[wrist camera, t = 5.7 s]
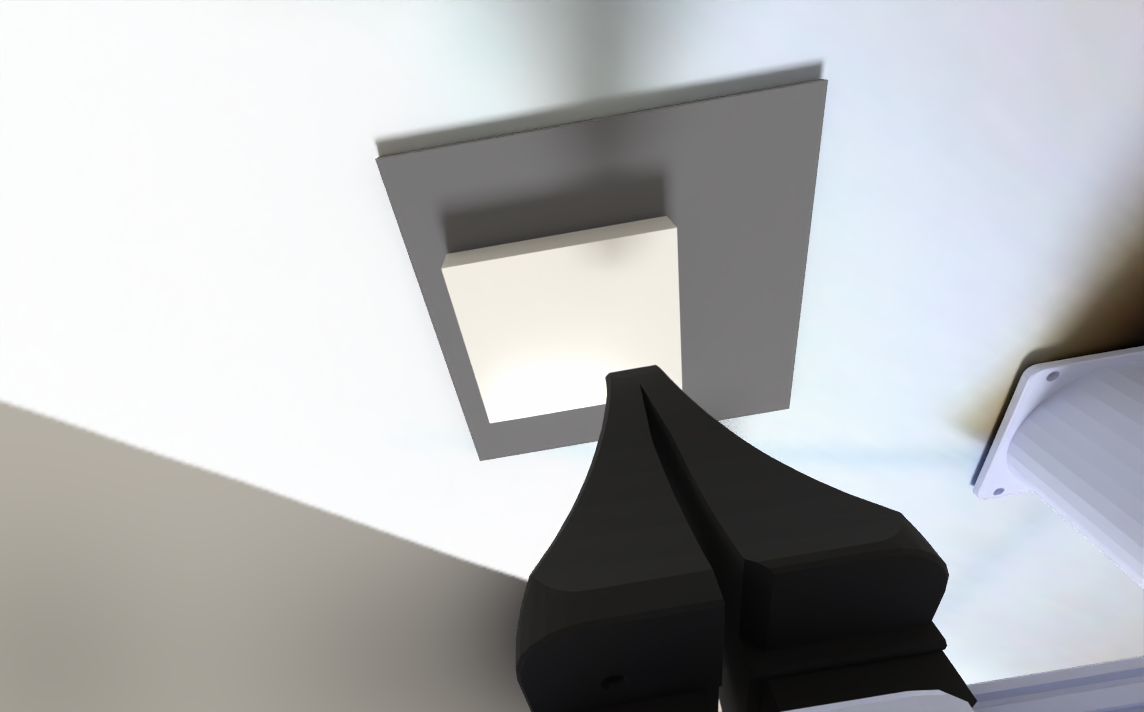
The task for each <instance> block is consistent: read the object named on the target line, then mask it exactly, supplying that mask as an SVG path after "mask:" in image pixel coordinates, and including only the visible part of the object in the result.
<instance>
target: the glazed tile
mask: <svg viewBox="0 0 1144 712" xmlns="http://www.w3.org/2000/svg"><path fill="white" fill-rule="evenodd" d="M441 270H442V273H443V276H444V279H445V282H446V285H447V289H448V292H449V295H450V298H451V301H452V305H453V308H454V311H455V314H456V317H457V320H458V324H459V327H460V330H461V333H462V336H463V339H464V343H465V346H466V349H467V352H468V355H469V359H470V362H471V365H472V368H473V371H474V374H475V378H476V381H477V384H478V387H479V390H480V394H481V397H482V400H483V403H484V406H485V409H486V413H487V416H488V419H489V422H490V423H495V422H501V421H506V420H512V419H518V418H524V417H530V416H536V415H542V414H548V413H553V412H559V411H565V410H571V409H577V408H583V407H589V406H595V405H600V404H606V396H607V388H606V380H605V377H606V376H607V374H608V373H610V372H616V371H622V370H628V369H634V368H639V367H645V366H651V365H657V366H658V367H660V368H661V369H662V370H663V371H664V372H665V373H666V374H667V376H668V377H669V378H670V379H671V380H672V381H673V382H674V383H675V384H676V385H677V386H678V387H679V388H680V389H681V390H682V365H681V334H680V304H679V274H678V244H677V227H676V226H675V225H674V224H673V222H672V221H671V220H670V219H669V218H668V217H667V216H663V217H657V218H651V219H645V220H640V221H634V222H628V223H622V224H617V225H611V226H605V227H599V228H594V229H588V230H582V231H576V232H571V233H565V234H559V235H553V236H548V237H542V238H536V239H530V240H524V241H519V242H513V243H507V244H501V245H496V246H490V247H484V248H478V249H473V250H467V251H461V252H455V253H450V254H446V257H445V260H444V262H443V265H442V268H441Z"/></svg>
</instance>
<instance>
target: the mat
mask: <svg viewBox="0 0 1144 712" xmlns="http://www.w3.org/2000/svg"><path fill="white" fill-rule="evenodd" d="M827 83H828V80H824V79H819V80H813V81H807V82H802V83H796V84H790V85H785V86H779V87H773V88H768V89H762V90H756V91H751V92H745V93H739V94H733V95H728V96H722V97H716V98H711V99H705V100H699V101H694V102H688V103H682V104H677V105H671V106H665V107H660V108H654V109H648V110H643V111H637V112H631V113H626V114H620V115H614V116H608V117H603V118H597V119H591V120H586V121H580V122H574V123H569V124H563V125H557V126H552V127H546V128H540V129H535V130H529V131H523V132H518V133H512V134H506V135H500V136H495V137H489V138H483V139H478V140H472V141H466V142H461V143H455V144H449V145H444V146H438V147H432V148H427V149H421V150H415V151H410V152H404V153H398V154H393V155H387V156H381V157H378V158H377V159H375V160H376V163H377V165H378V168H379V171H380V174H381V177H382V180H383V183H384V186H385V188H386V191H387V194H388V197H389V200H390V203H391V206H392V209H393V211H394V214H395V217H396V220H397V223H398V226H399V229H400V232H401V234H402V237H403V240H404V243H405V246H406V249H407V252H408V255H409V258H410V260H411V263H412V266H413V269H414V272H415V275H416V278H417V281H418V283H419V286H420V289H421V292H422V295H423V298H424V301H425V304H426V306H427V309H428V312H429V315H430V318H431V321H432V324H433V327H434V329H435V332H436V335H437V338H438V341H439V344H440V347H441V350H442V353H443V355H444V358H445V361H446V364H447V367H448V370H449V373H450V376H451V378H452V381H453V384H454V387H455V390H456V393H457V396H458V399H459V401H460V404H461V407H462V410H463V413H464V416H465V419H466V422H467V424H468V427H469V430H470V433H471V436H472V439H473V442H474V445H475V448H476V450H477V453H478V456H479V459H480V461H483V460H489V459H495V458H501V457H507V456H512V455H518V454H524V453H530V452H536V451H542V450H548V449H554V448H560V447H565V446H571V445H577V444H583V443H589V442H595V441H598V440H599V436H600V432H601V428H602V424H603V418H604V412H605V406H606V404H600V405H595V406H589V407H583V408H577V409H571V410H565V411H559V412H553V413H548V414H542V415H536V416H530V417H524V418H518V419H512V420H506V421H501V422H495V423H490V422H489V419H488V416H487V413H486V409H485V406H484V403H483V400H482V397H481V394H480V390H479V387H478V384H477V381H476V378H475V374H474V371H473V368H472V365H471V362H470V359H469V355H468V352H467V349H466V346H465V343H464V339H463V336H462V333H461V330H460V327H459V324H458V320H457V317H456V314H455V311H454V308H453V305H452V301H451V298H450V295H449V292H448V289H447V285H446V282H445V279H444V276H443V273H442V270H441V268H442V265H443V262H444V260H445V257H446V254H450V253H455V252H461V251H467V250H473V249H478V248H484V247H490V246H496V245H501V244H507V243H513V242H519V241H524V240H530V239H536V238H542V237H548V236H553V235H559V234H565V233H571V232H576V231H582V230H588V229H594V228H599V227H605V226H611V225H617V224H622V223H628V222H634V221H640V220H645V219H651V218H657V217H663V216H667V217H668V218H669V219H670V220H671V221H672V222H673V224H674V225H675V226H676V227H677V244H678V274H679V304H680V334H681V365H682V391H684V392H685V393H686V394H687V395H688V396H689V397H690V398H691V399H692V400H693V401H694V402H696V403H697V404H698V405H699V406H700V407H701V408H703V409H704V410H705V411H706V412H707V413H708V414H710V415H711V416H712V417H713V418H715V419H716V420H717V421H719V420H725V419H730V418H736V417H742V416H748V415H754V414H760V413H766V412H772V411H778V410H784V409H789V405H790V397H791V388H792V380H793V371H794V363H795V354H796V346H797V337H798V329H799V320H800V312H801V303H802V295H803V286H804V278H805V270H806V261H807V253H808V244H809V236H810V227H811V219H812V210H813V202H814V193H815V185H816V176H817V168H818V159H819V151H820V142H821V134H822V125H823V117H824V108H825V100H826V92H827Z"/></svg>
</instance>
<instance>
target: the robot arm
mask: <svg viewBox="0 0 1144 712" xmlns="http://www.w3.org/2000/svg"><path fill="white" fill-rule="evenodd" d="M605 380H606V388H607V396H606V406H605V412H604V418H603V424H602V428H601V432H600V436H599V440H598V444H597V447H596V451H595V454H594V457H593V460H592V463H591V466H590V469H589V471H588V474H587V476H586V479H585V481H584V484H583V486H582V488H581V490H580V493H579V495H578V497H577V499H576V501H575V503H574V505H573V507H572V509H571V511H570V513H569V515H568V517H567V518H566V520H565V522H564V524H563V525H562V527H561V529H560V531H559V532H558V534H557V536H556V538H555V539H554V541H553V542H552V544H551V546H550V547H549V548H548V550H547V551H546V553H545V554H544V556H543V557H542V558H541V560H540V561H539V563H538V564H537V566H536V567H535V569H534V570H533V571H532V573H531V574H530V576H529V579H528V583H527V586H526V590H525V594H524V598H523V602H522V606H521V610H520V616H519V621H518V629H517V637H516V674H517V680H518V682H519V685H520V687H521V689H522V691H523V694H524V696H525V698H526V701H527V703H528V705H529V707H530V710H531V712H718V705H719V701H720V705H721V709H722V712H1144V656H1140V657H1134V658H1128V659H1121V660H1115V661H1109V662H1103V663H1097V664H1091V665H1085V666H1079V667H1073V668H1067V669H1060V670H1054V671H1048V672H1042V673H1036V674H1030V675H1024V676H1018V677H1012V678H1005V679H999V680H993V681H987V682H981V683H975V684H969V685H966V684H965V682H964V681H963V679H962V678H961V676H960V675H959V674H958V672H957V671H956V669H955V668H954V666H953V665H952V663H951V662H950V661H949V659H948V658H947V656H946V655H945V653H944V652H943V651H942V650H945V648H946V646H947V644H946V640H945V638H944V637H943V636H942V634H941V633H940V631H939V630H938V629H937V627H936V626H935V624H934V623H933V622H932V619H933V617H934V614H935V612H936V610H937V608H938V606H939V604H940V601H941V599H942V597H943V595H944V593H945V590H946V585H947V581H948V577H949V573H948V570H947V566H946V564H945V562H944V561H943V560H942V559H941V557H940V556H939V555H938V554H937V553H936V551H935V550H934V549H933V548H932V546H931V545H930V544H929V543H928V541H927V540H926V539H925V538H924V537H923V536H922V534H921V533H920V532H919V531H918V530H917V529H916V528H915V527H914V526H913V525H912V524H911V523H910V522H909V521H908V520H907V519H906V518H905V517H904V516H903V514H902V513H900V512H897V511H895V510H892V509H889V508H886V507H883V506H881V505H878V504H875V503H872V502H870V501H867V500H864V499H861V498H859V497H856V496H853V495H850V494H848V493H845V492H843V491H841V490H838V489H836V488H834V487H831V486H829V485H827V484H824V483H822V482H820V481H817V480H815V479H813V478H811V477H809V476H807V475H805V474H803V473H800V472H799V471H797V470H795V469H793V468H791V467H789V466H787V465H785V464H783V463H781V462H779V461H778V460H776V459H774V458H772V457H770V456H769V455H767V454H765V453H763V452H762V451H760V450H758V449H757V448H755V447H754V446H752V445H751V444H749V443H747V442H746V441H744V440H743V439H741V438H740V437H739V436H737V435H736V434H734V433H733V432H732V431H730V430H729V429H728V428H726V427H725V426H724V425H722V424H721V423H720V422H718V421H717V420H716V419H715V418H713V417H712V416H711V415H710V414H708V413H707V412H706V411H705V410H704V409H703V408H701V407H700V406H699V405H698V404H697V403H696V402H694V401H693V400H692V399H691V398H690V397H689V396H688V395H687V394H686V393H685V392H684V391H682V390H681V389H680V388H679V387H678V386H677V385H676V384H675V383H674V382H673V381H672V380H671V379H670V378H669V377H668V376H667V374H666V373H665V372H664V371H663V370H662V369H661V368H660V367H658V366H657V365H651V366H645V367H639V368H634V369H628V370H622V371H616V372H610V373H608V374H607V376H606V377H605ZM1027 492H1033V493H1034V494H1035V495H1037V496H1038V497H1039V498H1040V499H1041V500H1042V501H1043V502H1045V503H1046V504H1047V505H1048V506H1049V507H1050V508H1051V509H1053V510H1054V511H1055V512H1056V513H1057V514H1058V515H1059V516H1061V517H1062V518H1063V519H1064V520H1065V521H1066V522H1067V523H1069V524H1070V525H1071V526H1072V527H1073V528H1074V529H1075V530H1077V531H1078V532H1079V533H1080V534H1081V535H1082V536H1083V537H1085V538H1086V539H1087V540H1088V541H1089V542H1090V543H1092V544H1093V545H1094V546H1095V547H1096V548H1097V549H1098V550H1100V551H1101V552H1102V553H1103V554H1104V555H1105V556H1106V557H1108V558H1109V559H1110V560H1111V561H1112V562H1113V563H1114V564H1116V565H1117V566H1118V567H1119V568H1120V569H1121V570H1122V571H1124V572H1125V573H1126V574H1127V575H1128V576H1129V577H1130V578H1132V579H1133V580H1134V581H1135V582H1136V583H1137V584H1138V585H1140V586H1141V587H1142V588H1143V589H1144V346H1140V347H1134V348H1128V349H1122V350H1116V351H1110V352H1105V353H1099V354H1093V355H1087V356H1081V357H1075V358H1069V359H1063V360H1057V361H1051V362H1046V363H1040V364H1035V365H1032V366H1030V367H1029V368H1027V369H1026V370H1025V371H1024V373H1023V374H1022V376H1021V378H1020V381H1019V383H1018V385H1017V388H1016V390H1015V392H1014V395H1013V397H1012V399H1011V402H1010V404H1009V406H1008V409H1007V411H1006V413H1005V416H1004V418H1003V420H1002V423H1001V425H1000V427H999V430H998V432H997V434H996V437H995V439H994V441H993V444H992V446H991V448H990V451H989V453H988V455H987V458H986V460H985V462H984V465H983V467H982V469H981V472H980V474H979V476H978V479H977V481H976V483H975V486H974V488H973V493H974V494H975V495H976V496H977V497H978V498H979V499H991V498H997V497H1003V496H1009V495H1015V494H1021V493H1027Z"/></svg>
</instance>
